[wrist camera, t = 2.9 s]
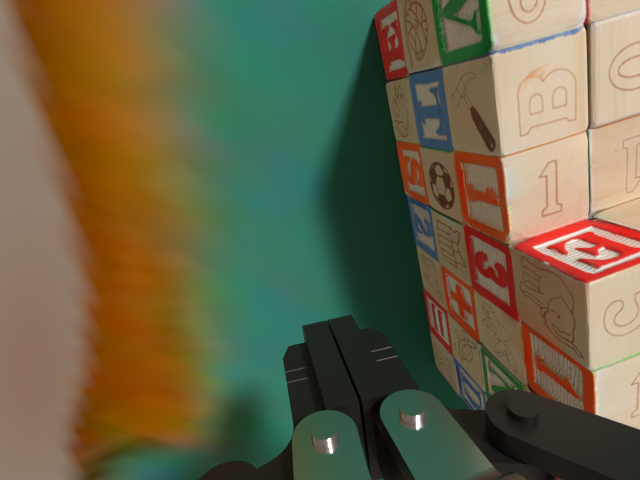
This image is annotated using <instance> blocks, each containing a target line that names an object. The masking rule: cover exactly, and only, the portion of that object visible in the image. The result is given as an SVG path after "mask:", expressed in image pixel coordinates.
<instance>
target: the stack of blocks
mask: <svg viewBox="0 0 640 480" xmlns="http://www.w3.org/2000/svg"><path fill="white" fill-rule="evenodd" d="M374 18H375V24H376V29H377V34H378V39H379V44H380V49H381V54H382V59H383V65H384V69H385V76H386V78H387V83H386V90H387V96H388V101H389V107H390V112H391V117H392V123H393V128H394V133H395V137H396V140H397V144H396V145H397V151H398V157H399V162H400V168H401V174H402V179H403V185H404V191H405V193H406V195H407V200H408V205H409V210H410V216H411V222H412V227H413V233H414V239H415V242H416V247H417V253H418V259H419V264H420V270H421V275H422V280H423V285H424V289H423V292H424V299H425V304H426V309H427V315H428V321H429V326H430V334H431V340H432V346H433V351H434V357H435V363H436V366H437V368H438V370H439V371H440V372H441V374H442V375H443V376H444V377H445V378H446V379H447V381H448V382H449V383H450V385H451V386H452V388H453V389H454V390H455V392H456V393H457V394H458V395H459V396H460V397H461V398H462V399H463V400H464V402H465V403H466V405H467V406H468V407H469V408H470V410H486V402H487V400H488V399H489V397H490V396H491V395H493V394H494V393H496V392H499V391H502V390H509V389H515V390H523V391H527V392H531V393H534V394H537V395H540V396H543V397H546V398H549V399H552V400H554V401H557V402H560V403H563V404H566V405H569V406H572V407H575V408H578V409H581V410H584V411H587V412H590V413H593V414H596V415H599V416H601V417H604V418H607V419H610V420H613V421H616V422H619V423H622V424H625V425H628V426H631V427H634V428H637V429H640V0H392V1H391V2H390V3H388V4H387V5H386V6H385V7H383V8H382V9H380V10H379V11H378V12H377V13H376V14H375V15H374ZM558 480H562V479H559V478H558Z"/></svg>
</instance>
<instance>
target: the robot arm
mask: <svg viewBox="0 0 640 480" xmlns="http://www.w3.org/2000/svg"><path fill="white" fill-rule="evenodd" d="M302 328H303V334H304V340H305V343H301V344H297V345H292V346H288V349H287V351H286V353H285V355H284V358H283V361H284V368H285V374H286V380H287V387H288V393H289V399H290V405H291V412H292V418H293V425H294V430H293V435H292V438H291V440H290V442H289V444H288V446H287V447H286V448H285V450H284V451H283V452H282V453H281V454H280V455H278V456H277V457H276V458H275V459H273V460H272V461H270V462H268V463H267V464H265V465H263V466H262V467H260V468H258V469H256V468H255V467H254V466H253V465H251V464H249V463H247V462H243V461H230V462H226V463H223V464H220V465H218V466H216V467H214V468H212V469H211V470H209V471H208V472H207V473H205V474H204V475H203V476H202V477H201V478H200V479H199V480H371V479H370V476H371V478H372V480H376V479H380V478H384V480H558V478H559V479H562V480H640V429H637V428H634V427H631V426H628V425H625V424H622V423H619V422H616V421H613V420H610V419H607V418H604V417H601V416H599V415H596V414H593V413H590V412H587V411H584V410H581V409H578V408H575V407H572V406H569V405H566V404H563V403H560V402H557V401H554V400H552V399H549V398H546V397H543V396H540V395H537V394H534V393H531V392H527V391H523V390H515V389H509V390H502V391H499V392H496V393H494V394H493V395H491V396H490V397H489V399H488V400H487V402H486V410H460V409H451V408H447V407H444V406H443V404H442V403H441V402H440V401H439V400H438V399H437V398H436V397H434V396H433V395H431V394H429V393H426V392H424V391H421V390H420V389H419V387H418V386H417V384H416V383H415V381H414V380H413V378H412V376H411V375H410V373H409V372H408V370H407V369H406V367H405V366H404V364H403V363H402V361H401V360H400V358H399V357H398V356H397V353H396V352H395V350H394V349H393V348H392V347H391V344H390V343H389V341H388V340H387V338H386V337H385V335H384V334H382V333H380V332H379V331H377V330H375V329H374V328H372V327H370V328H366V329H362V330H359V328H358V326H357V325H356V323H355V321H354V319H353V317H352V316H351V315H348V316H344V317H339V318H335V319H330V320H327V322H326V321H322V322H317V323H313V324H308V325H304V326H302ZM368 470H369V472H368ZM369 473H370V476H369Z"/></svg>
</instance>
